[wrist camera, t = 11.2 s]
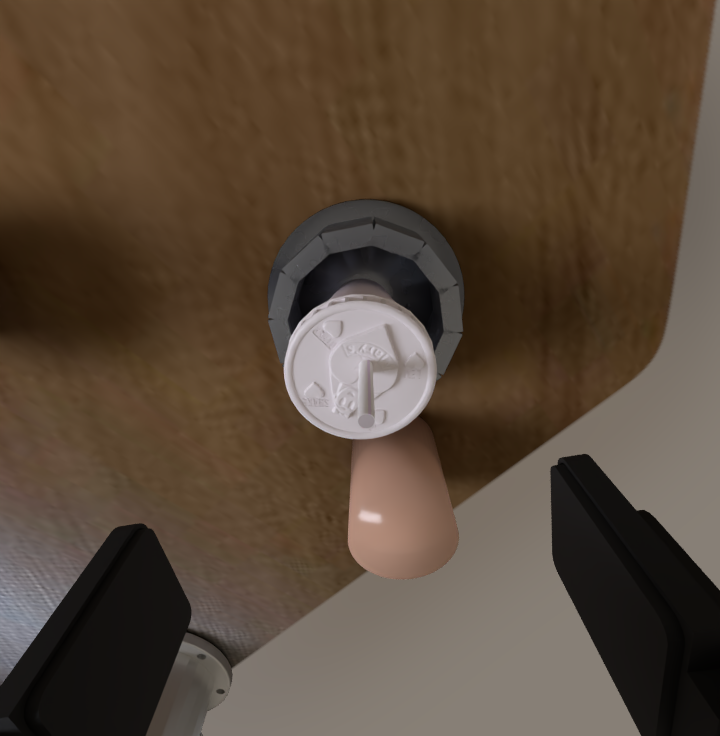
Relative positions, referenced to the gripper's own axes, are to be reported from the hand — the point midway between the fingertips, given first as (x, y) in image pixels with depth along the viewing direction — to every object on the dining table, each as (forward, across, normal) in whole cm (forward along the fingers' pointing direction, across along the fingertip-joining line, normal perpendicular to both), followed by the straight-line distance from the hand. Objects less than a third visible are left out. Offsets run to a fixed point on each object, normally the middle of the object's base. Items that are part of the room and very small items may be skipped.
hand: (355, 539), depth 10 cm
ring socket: (+19, -1, -1) cm, 19 cm away
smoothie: (+18, 0, -1) cm, 18 cm away
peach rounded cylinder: (+19, -1, +10) cm, 22 cm away
